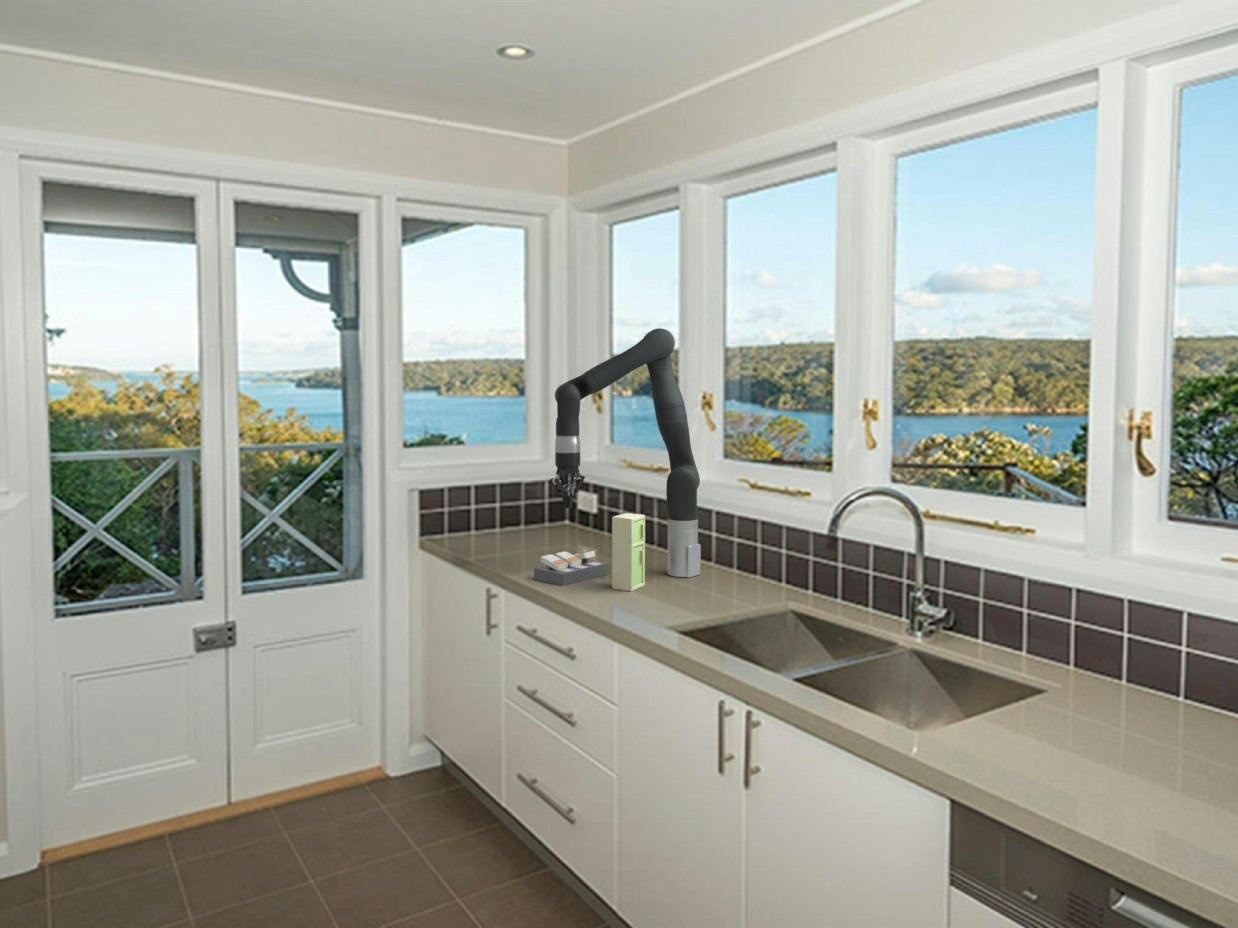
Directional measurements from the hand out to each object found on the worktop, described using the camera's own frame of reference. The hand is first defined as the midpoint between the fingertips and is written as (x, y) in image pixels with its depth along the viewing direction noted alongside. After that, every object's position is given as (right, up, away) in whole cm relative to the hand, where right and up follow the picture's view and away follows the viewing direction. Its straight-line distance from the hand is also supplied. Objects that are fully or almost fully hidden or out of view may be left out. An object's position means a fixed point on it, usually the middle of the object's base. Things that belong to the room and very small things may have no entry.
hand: (568, 507), depth 283 cm
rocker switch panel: (+2, -21, +3) cm, 21 cm away
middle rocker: (0, -16, +2) cm, 16 cm away
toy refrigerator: (+18, -23, -12) cm, 32 cm away
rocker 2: (+4, -15, +6) cm, 17 cm away
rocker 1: (-4, -16, -3) cm, 17 cm away
